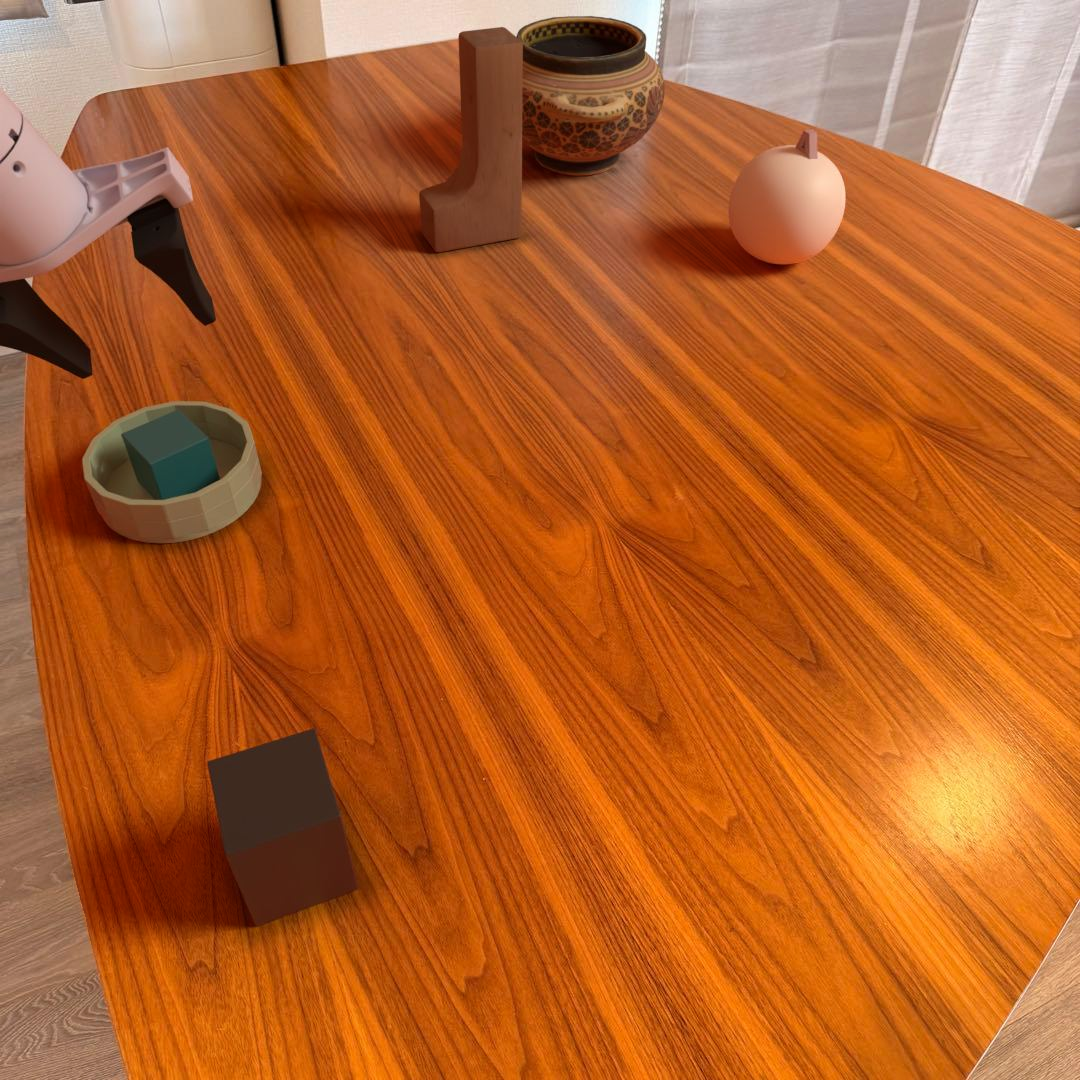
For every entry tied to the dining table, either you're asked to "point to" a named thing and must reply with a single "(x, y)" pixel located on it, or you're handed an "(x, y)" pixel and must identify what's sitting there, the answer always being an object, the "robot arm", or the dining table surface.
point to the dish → (182, 515)
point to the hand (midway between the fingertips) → (147, 338)
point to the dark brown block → (282, 826)
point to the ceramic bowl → (586, 91)
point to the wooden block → (482, 149)
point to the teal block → (171, 456)
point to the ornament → (787, 202)
